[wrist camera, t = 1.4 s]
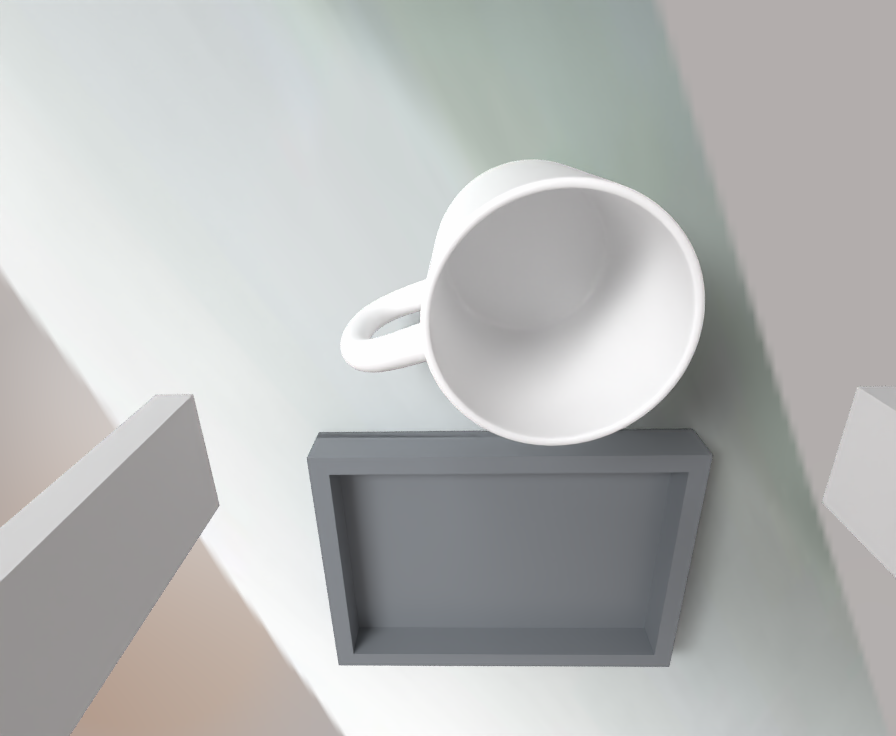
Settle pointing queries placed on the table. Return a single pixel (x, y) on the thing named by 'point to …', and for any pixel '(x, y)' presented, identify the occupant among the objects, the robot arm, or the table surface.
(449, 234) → the cup
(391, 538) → the grey tray
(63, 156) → the table surface
